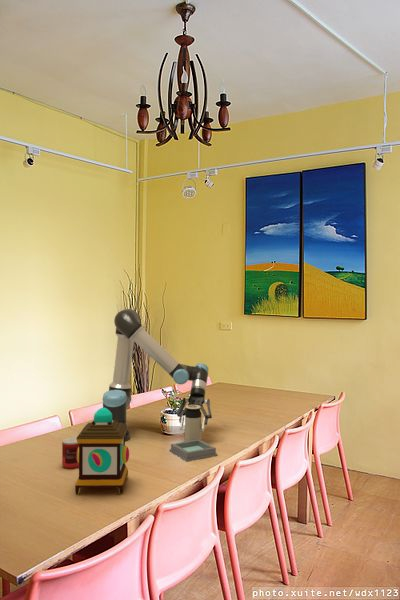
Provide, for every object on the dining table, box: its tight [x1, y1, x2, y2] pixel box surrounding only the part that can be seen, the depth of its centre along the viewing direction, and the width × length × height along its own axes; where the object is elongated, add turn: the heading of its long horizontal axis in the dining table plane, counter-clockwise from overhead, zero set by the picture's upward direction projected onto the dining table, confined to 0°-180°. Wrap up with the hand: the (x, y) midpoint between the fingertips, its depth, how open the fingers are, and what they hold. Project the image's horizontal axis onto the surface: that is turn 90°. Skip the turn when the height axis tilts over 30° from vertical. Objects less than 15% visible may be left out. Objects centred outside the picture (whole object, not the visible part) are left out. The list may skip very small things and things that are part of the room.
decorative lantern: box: [74, 407, 130, 495], centre depth 192 cm, size 20×20×30 cm
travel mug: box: [184, 404, 202, 442], centre depth 247 cm, size 8×8×18 cm
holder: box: [169, 439, 218, 462], centre depth 231 cm, size 16×16×4 cm
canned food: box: [61, 437, 79, 470], centre depth 214 cm, size 8×8×11 cm
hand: (191, 429), depth 245 cm, fingers open, 10 cm apart
